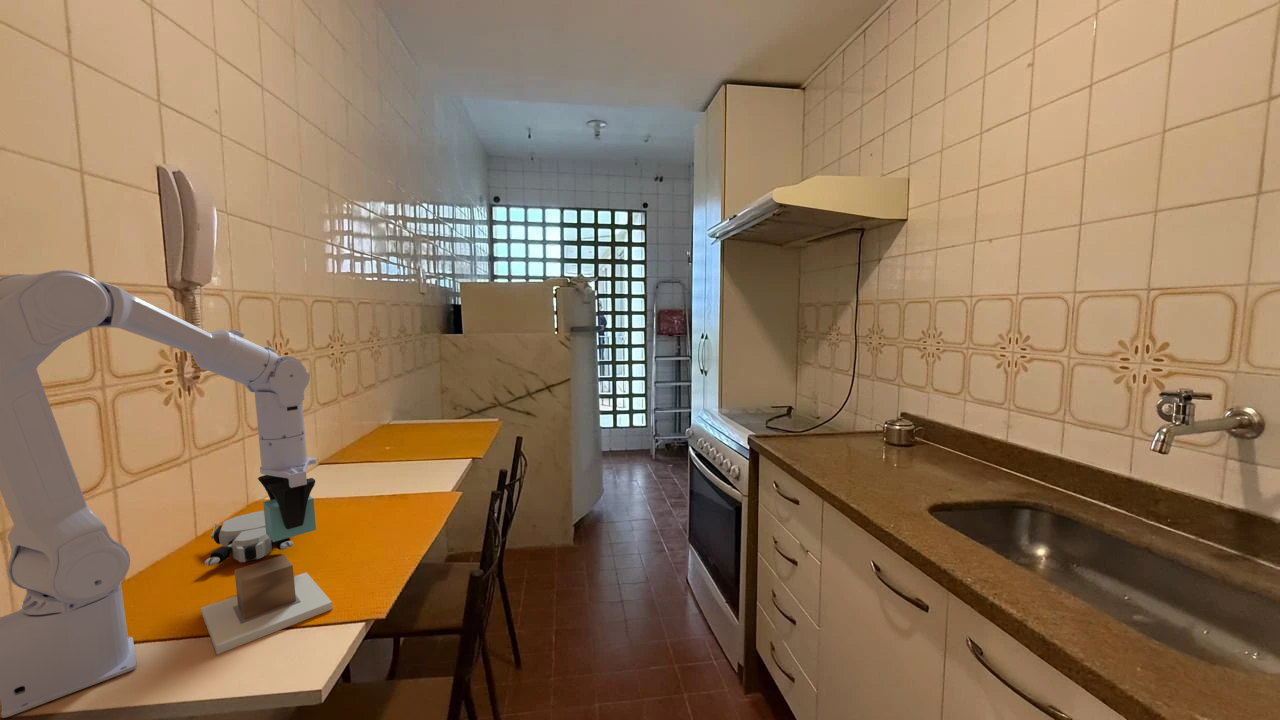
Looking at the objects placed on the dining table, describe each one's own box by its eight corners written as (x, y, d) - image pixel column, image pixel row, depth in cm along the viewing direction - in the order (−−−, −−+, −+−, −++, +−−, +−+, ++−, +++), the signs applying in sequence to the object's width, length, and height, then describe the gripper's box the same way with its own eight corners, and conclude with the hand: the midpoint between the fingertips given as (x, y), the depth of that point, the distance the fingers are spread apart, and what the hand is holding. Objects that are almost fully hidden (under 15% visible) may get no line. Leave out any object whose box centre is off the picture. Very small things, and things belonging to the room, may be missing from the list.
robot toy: (298, 561, 84) (300, 523, 96) (295, 535, 83) (298, 501, 96) (201, 584, 77) (217, 540, 90) (197, 556, 77) (214, 516, 89)
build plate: (217, 654, 59) (216, 645, 59) (202, 614, 67) (201, 606, 67) (332, 609, 68) (332, 601, 68) (306, 578, 76) (306, 571, 76)
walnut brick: (244, 619, 64) (240, 581, 64) (238, 606, 67) (234, 569, 67) (296, 601, 68) (292, 565, 68) (287, 589, 71) (284, 554, 71)
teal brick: (273, 542, 75) (270, 509, 74) (266, 533, 78) (263, 501, 77) (316, 529, 79) (313, 498, 78) (307, 522, 82) (305, 492, 81)
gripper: (327, 437, 75) (334, 526, 76) (300, 424, 85) (306, 503, 86) (269, 447, 70) (277, 542, 71) (247, 432, 79) (255, 516, 81)
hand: (290, 522), depth 78 cm, fingers closed on teal brick, 4 cm apart
